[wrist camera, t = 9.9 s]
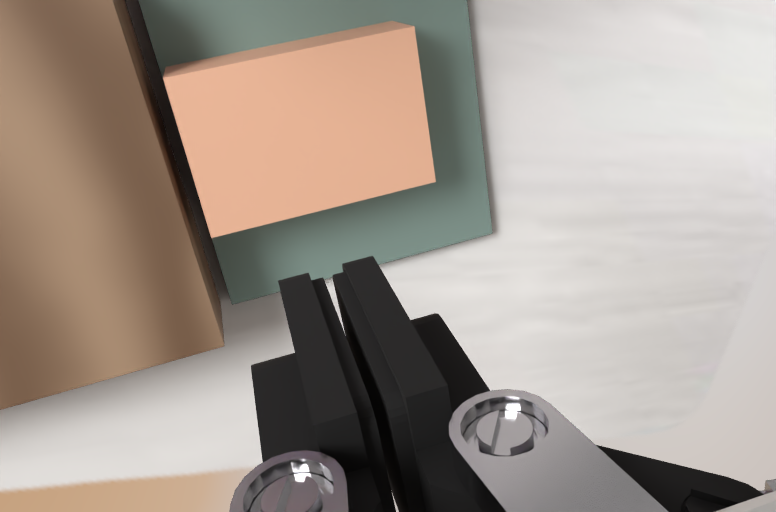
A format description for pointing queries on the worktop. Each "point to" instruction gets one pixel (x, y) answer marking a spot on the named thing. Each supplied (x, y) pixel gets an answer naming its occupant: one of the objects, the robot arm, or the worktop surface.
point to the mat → (367, 217)
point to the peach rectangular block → (303, 125)
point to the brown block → (90, 208)
